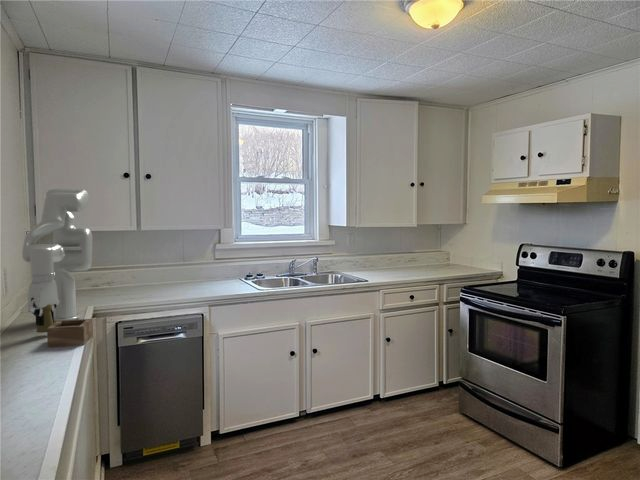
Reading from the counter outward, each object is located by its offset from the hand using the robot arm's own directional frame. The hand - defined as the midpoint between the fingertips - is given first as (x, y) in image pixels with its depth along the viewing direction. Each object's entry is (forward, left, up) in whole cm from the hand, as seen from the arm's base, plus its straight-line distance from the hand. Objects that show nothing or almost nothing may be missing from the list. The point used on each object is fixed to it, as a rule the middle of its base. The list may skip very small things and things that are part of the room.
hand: (45, 323), depth 172 cm
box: (+10, +12, -5) cm, 16 cm away
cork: (0, 0, -3) cm, 3 cm away
